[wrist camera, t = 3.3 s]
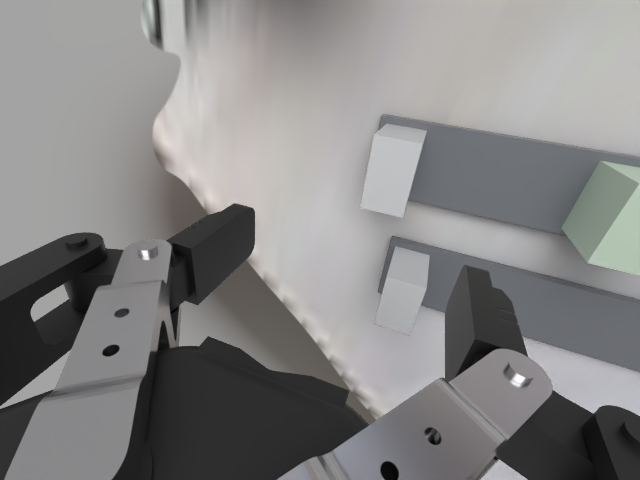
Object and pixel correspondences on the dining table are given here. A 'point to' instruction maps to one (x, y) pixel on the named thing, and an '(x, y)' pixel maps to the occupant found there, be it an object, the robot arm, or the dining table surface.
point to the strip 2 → (527, 298)
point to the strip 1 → (478, 173)
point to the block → (608, 218)
